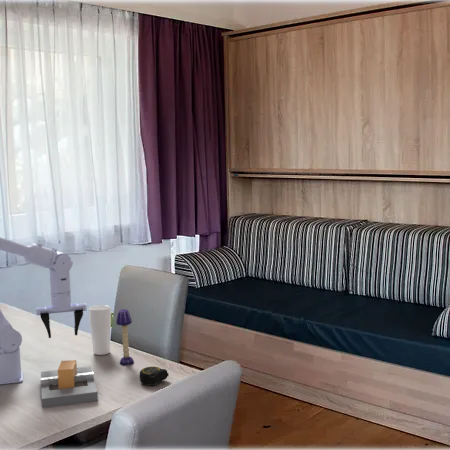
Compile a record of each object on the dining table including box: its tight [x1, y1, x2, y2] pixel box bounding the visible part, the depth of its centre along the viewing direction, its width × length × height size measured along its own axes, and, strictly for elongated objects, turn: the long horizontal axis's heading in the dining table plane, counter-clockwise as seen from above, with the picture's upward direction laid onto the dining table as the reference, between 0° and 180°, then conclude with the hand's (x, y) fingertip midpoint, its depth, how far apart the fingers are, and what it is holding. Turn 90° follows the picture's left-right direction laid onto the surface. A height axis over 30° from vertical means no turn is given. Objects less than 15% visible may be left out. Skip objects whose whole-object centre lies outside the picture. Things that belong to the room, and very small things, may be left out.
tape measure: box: [139, 366, 170, 386], centre depth 180 cm, size 7×7×4 cm
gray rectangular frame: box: [40, 365, 99, 409], centre depth 175 cm, size 14×20×2 cm
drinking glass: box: [88, 304, 112, 356], centre depth 204 cm, size 7×7×15 cm
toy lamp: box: [116, 308, 135, 366], centre depth 195 cm, size 5×5×17 cm
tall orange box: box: [57, 359, 78, 389], centre depth 175 cm, size 4×7×6 cm, turn 6°
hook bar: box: [40, 371, 95, 386], centre depth 175 cm, size 14×2×2 cm, turn 107°
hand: (63, 335), depth 193 cm, fingers open, 7 cm apart
